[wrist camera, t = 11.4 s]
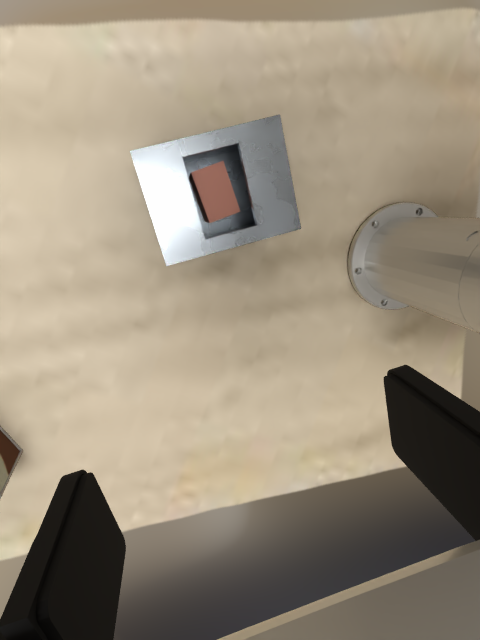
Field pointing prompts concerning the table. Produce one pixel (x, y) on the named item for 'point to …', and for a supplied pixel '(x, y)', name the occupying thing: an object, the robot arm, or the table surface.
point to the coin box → (246, 179)
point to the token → (214, 192)
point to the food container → (7, 458)
